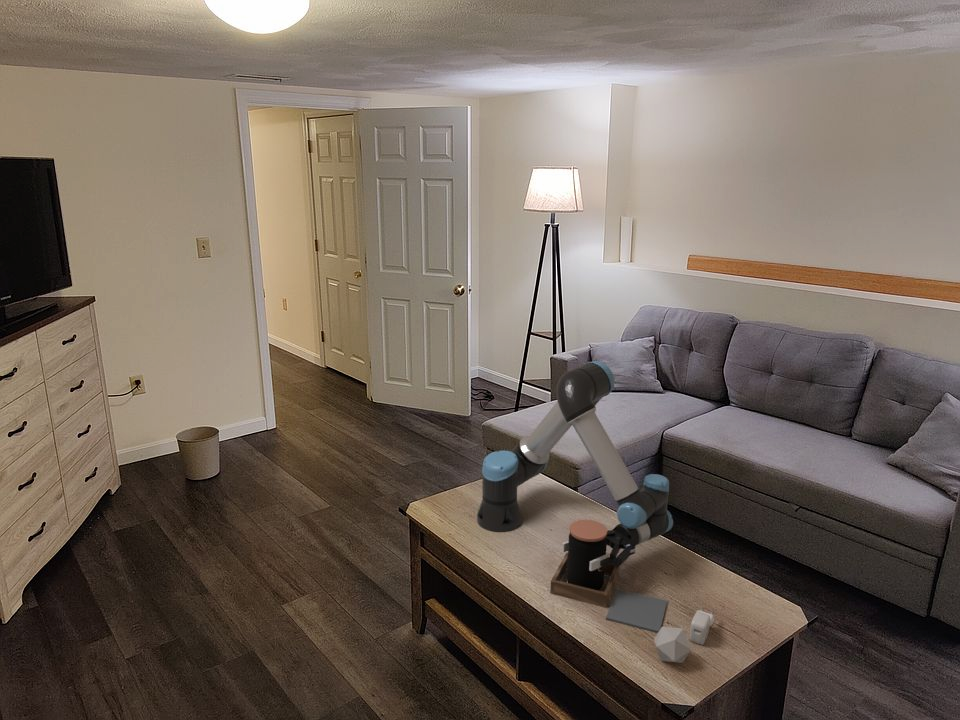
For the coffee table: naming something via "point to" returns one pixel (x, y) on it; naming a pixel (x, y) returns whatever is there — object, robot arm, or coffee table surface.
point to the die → (672, 644)
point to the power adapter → (701, 626)
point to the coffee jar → (586, 553)
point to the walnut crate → (582, 592)
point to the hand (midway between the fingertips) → (576, 556)
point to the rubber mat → (637, 610)
